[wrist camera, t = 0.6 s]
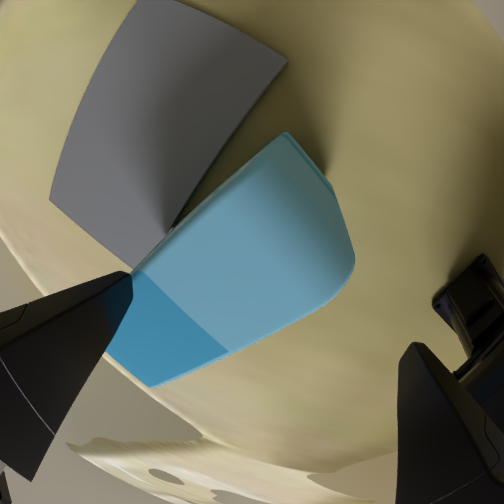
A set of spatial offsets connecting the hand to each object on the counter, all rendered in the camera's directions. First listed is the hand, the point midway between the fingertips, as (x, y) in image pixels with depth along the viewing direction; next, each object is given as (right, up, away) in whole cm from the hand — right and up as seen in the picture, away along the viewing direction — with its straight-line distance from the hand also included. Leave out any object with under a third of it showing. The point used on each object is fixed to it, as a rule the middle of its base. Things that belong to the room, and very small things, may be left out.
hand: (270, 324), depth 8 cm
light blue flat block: (-1, +5, +12) cm, 13 cm away
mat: (-9, +11, +10) cm, 17 cm away
